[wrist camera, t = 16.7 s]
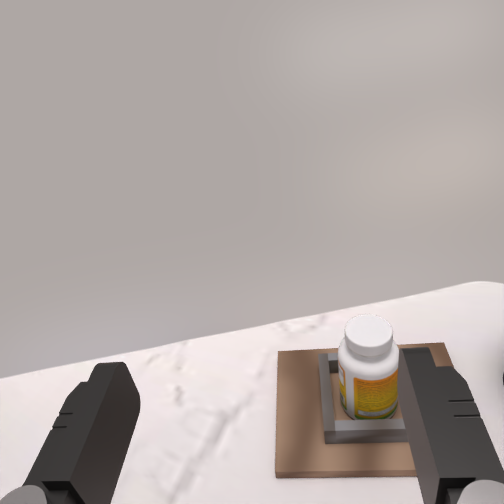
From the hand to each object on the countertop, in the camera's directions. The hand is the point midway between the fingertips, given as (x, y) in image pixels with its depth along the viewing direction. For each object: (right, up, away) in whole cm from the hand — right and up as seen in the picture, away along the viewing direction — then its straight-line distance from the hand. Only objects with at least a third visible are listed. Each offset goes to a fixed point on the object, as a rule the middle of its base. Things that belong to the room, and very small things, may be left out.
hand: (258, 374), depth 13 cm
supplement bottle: (+11, -11, +30) cm, 34 cm away
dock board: (+11, -12, +30) cm, 34 cm away
